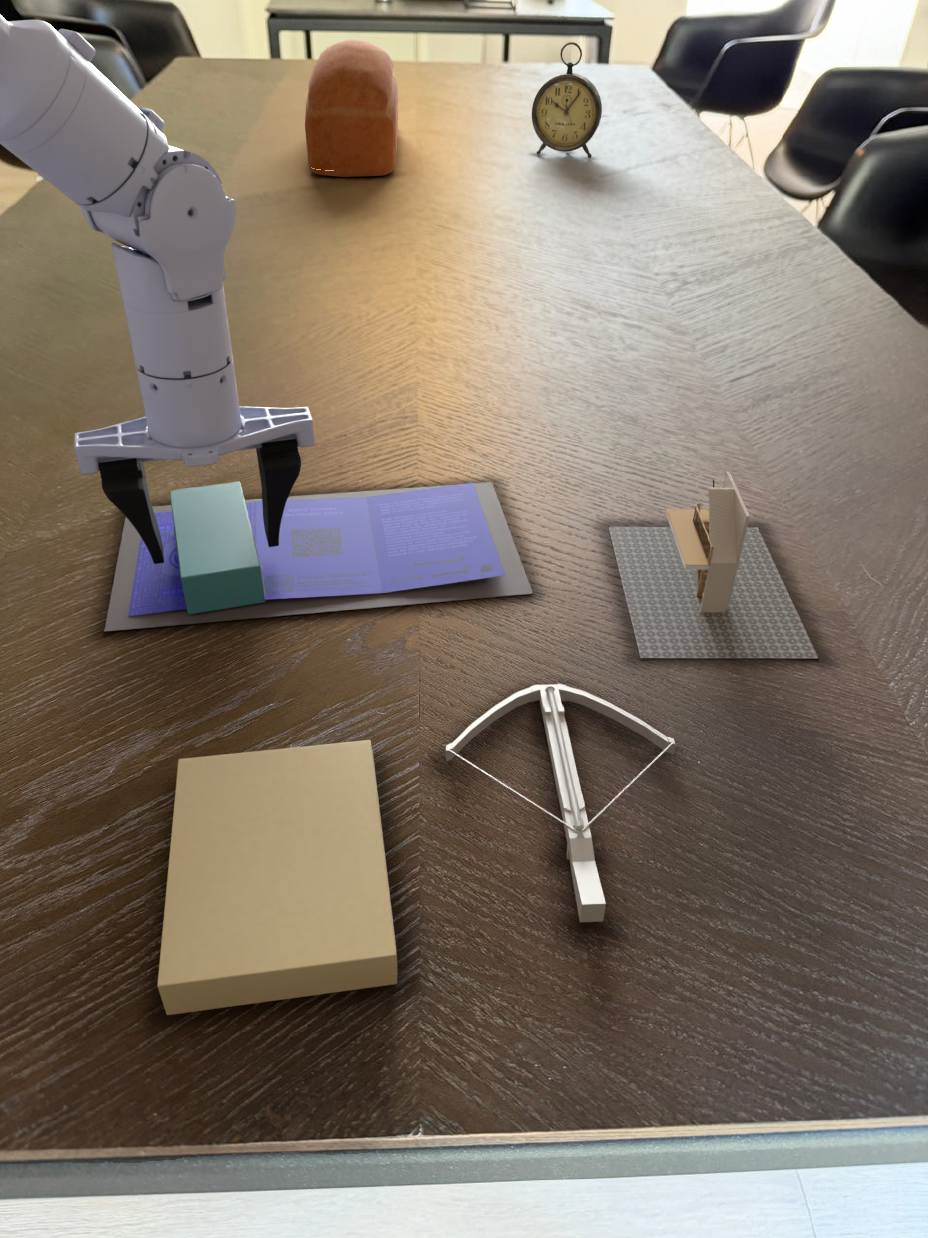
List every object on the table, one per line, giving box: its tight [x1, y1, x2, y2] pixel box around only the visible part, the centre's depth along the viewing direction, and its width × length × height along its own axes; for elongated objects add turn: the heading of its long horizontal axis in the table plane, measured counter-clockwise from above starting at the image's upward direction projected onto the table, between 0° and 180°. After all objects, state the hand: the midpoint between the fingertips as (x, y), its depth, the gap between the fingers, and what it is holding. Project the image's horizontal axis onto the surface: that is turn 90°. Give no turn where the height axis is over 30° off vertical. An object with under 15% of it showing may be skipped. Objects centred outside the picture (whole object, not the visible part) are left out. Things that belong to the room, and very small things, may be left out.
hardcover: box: [156, 739, 398, 1016], centre depth 47 cm, size 10×13×2 cm
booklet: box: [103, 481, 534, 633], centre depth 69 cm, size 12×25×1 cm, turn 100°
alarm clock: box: [531, 41, 603, 159], centre depth 155 cm, size 11×5×16 cm, turn 77°
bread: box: [304, 39, 399, 178], centre depth 154 cm, size 14×33×16 cm, turn 2°
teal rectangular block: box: [169, 481, 265, 615], centre depth 67 cm, size 5×11×3 cm, turn 17°
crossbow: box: [445, 683, 676, 923], centre depth 51 cm, size 16×13×2 cm
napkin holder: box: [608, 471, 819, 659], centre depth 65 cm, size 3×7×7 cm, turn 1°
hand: (215, 547), depth 67 cm, fingers open, 7 cm apart
